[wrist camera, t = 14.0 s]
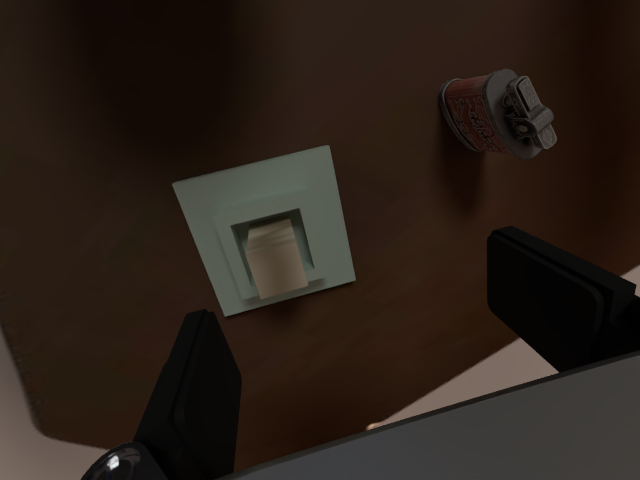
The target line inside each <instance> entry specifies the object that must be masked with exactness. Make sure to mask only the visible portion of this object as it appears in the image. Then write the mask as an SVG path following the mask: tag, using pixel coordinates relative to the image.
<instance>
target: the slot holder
mask: <svg viewBox="0 0 640 480" xmlns="http://www.w3.org/2000/svg"><path fill="white" fill-rule="evenodd" d="M172 186H173V188H174V191H175V193H176V196H177V198H178V201H179V203H180V206H181V208H182V211H183V213H184V216H185V218H186V221H187V223H188V226H189V228H190V231H191V233H192V236H193V238H194V241H195V243H196V246H197V248H198V251H199V253H200V256H201V258H202V261H203V263H204V266H205V268H206V271H207V273H208V276H209V278H210V281H211V283H212V286H213V288H214V291H215V293H216V296H217V298H218V301H219V303H220V306H221V308H222V311H223V313H224V316H229V315H232V314H236V313H240V312H243V311H247V310H250V309H254V308H258V307H261V306H265V305H268V304H272V303H276V302H279V301H283V300H286V299H290V298H294V297H297V296H301V295H304V294H308V293H312V292H315V291H319V290H322V289H326V288H330V287H333V286H337V285H341V284H344V283H348V282H351V281H355V280H356V279H355V274H354V269H353V264H352V259H351V254H350V248H349V243H348V238H347V233H346V228H345V223H344V218H343V213H342V208H341V202H340V197H339V192H338V187H337V182H336V177H335V172H334V167H333V162H332V156H331V151H330V146H328V145H325V146H321V147H317V148H312V149H308V150H304V151H300V152H296V153H292V154H288V155H284V156H280V157H275V158H271V159H267V160H263V161H259V162H255V163H251V164H247V165H242V166H238V167H234V168H230V169H226V170H222V171H218V172H214V173H210V174H205V175H201V176H197V177H193V178H189V179H185V180H181V181H177V182H174V183H173V184H172ZM285 214H289V217H290V220H291V224H292V227H293V231H294V234H295V238H296V242H297V245H298V249H299V252H300V256H301V260H302V264H303V267H304V271H305V275H306V278H307V282H308V286H306V287H303V288H299V289H296V290H292V291H289V292H285V293H282V294H278V295H275V296H271V297H268V298H264V299H261V298H260V295H259V292H258V289H257V286H256V284H255V281H254V278H253V275H252V272H251V270H250V267H249V264H248V261H247V258H246V250H247V242H248V234H249V226H250V224H252V223H256V222H259V221H263V220H267V219H270V218H274V217H278V216H282V215H285Z"/></svg>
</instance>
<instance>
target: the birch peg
mask: <svg viewBox="0 0 640 480" xmlns="http://www.w3.org/2000/svg"><path fill="white" fill-rule="evenodd" d="M246 258H247V261H248V264H249V267H250V270H251V272H252V275H253V278H254V281H255V284H256V286H257V289H258V292H259V295H260V298H261V299H264V298H268V297H271V296H275V295H278V294H282V293H285V292H289V291H292V290H296V289H299V288H303V287H306V286H308V282H307V278H306V275H305V271H304V267H303V264H302V260H301V256H300V252H299V249H298V245H297V242H296V238H295V234H294V231H293V227H292V224H291V220H290V217H289V214H285V215H282V216H278V217H274V218H270V219H267V220H263V221H259V222H256V223H252V224H250V226H249V234H248V242H247V250H246Z"/></svg>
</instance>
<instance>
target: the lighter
mask: <svg viewBox="0 0 640 480" xmlns="http://www.w3.org/2000/svg"><path fill="white" fill-rule="evenodd" d="M438 99H439V103H440V105H441V108H442V111H443V114H444V116H445V118H446V120H447V122H448V124H449V126H450V128H451V129H452V130H453V132H454V133H455V135H456V136H457V137H458V139H459V140H460V141H461V142H462V143H463V144H464V145H465V146H466V147H467V148H468V149H469V150H471V151H479V152H480V151H483V150H484V151H490V152H497V153H504V154H510V155H514V156H515V157H517V158H521V159H530V158H533V157H534V156H536V155H537V154H538V153H539V152H540V151H541V150H542V148H543V149H549V148H550V147H551V146H553V145H554V144H555V143H556V141H557V137H556V135H555V132H554V130H553V128H552V126H551V124H550V123H551V122H552V120H553V119H554V115H553V113H552V111H551V110H550V109H549V108H547V107H545V106H544V105H542V104H541V103H540V101H539V99H538V96H537V94H536V92H535V90H534V88H533V86H532V84H531V82H530V79H529V78H528V77H527V76H522V77H518V76H517V75H516V74H515V72H513V71H512V70H510V69H503V70H499V71H495V72H493V73H492V74H490V75H485V76H480V77H474V78H469V79H464V80H462V79H453V80H449V81H447V82H446V83H444V84H443V86H442V87H441V89H440V91H439V94H438Z"/></svg>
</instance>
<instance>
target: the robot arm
mask: <svg viewBox="0 0 640 480" xmlns="http://www.w3.org/2000/svg"><path fill="white" fill-rule="evenodd" d="M635 289H636V284H634V283H632V282H630V281H627V280H625V279H623V278H621V277H619V276H617V275H615V274H613V273H611V272H608V271H606V270H604V269H602V268H600V267H598V266H596V265H594V264H592V263H589V262H587V261H585V260H583V259H581V258H579V257H577V256H575V255H573V254H570V253H568V252H566V251H564V250H562V249H560V248H558V247H556V246H554V245H551V244H549V243H547V242H545V241H543V240H541V239H539V238H537V237H534V236H532V235H530V234H528V233H526V232H524V231H522V230H520V229H518V228H515V227H513V226H508V227H504V228H501V229H497V230H494V231H492V233H491V236H489V237H488V238H487V301H488V306H489V308H490V310H491V311H492V312H493V313H494V314H495V315H496V316H497V317H498V318H499V319H500V320H502V321H503V322H504V323H505V324H506V325H507V326H508V327H509V328H510V329H512V330H513V331H514V332H515V333H516V334H517V335H518V336H519V337H521V338H522V339H523V340H524V341H525V342H526V343H527V344H528V345H530V346H531V347H532V348H533V349H534V350H535V351H536V352H537V353H538V354H539V355H541V356H542V357H543V358H544V359H545V360H546V361H547V362H548V363H550V364H551V365H552V366H553V367H554V368H555V369H556V370H557V371H558V372H559V373H557V374H554V375H550V376H547V377H544V378H540V379H537V380H534V381H530V382H527V383H523V384H520V385H517V386H513V387H510V388H506V389H503V390H499V391H496V392H493V393H489V394H486V395H483V396H479V397H476V398H473V399H470V400H466V401H463V402H459V403H456V404H453V405H450V406H446V407H443V408H440V409H436V410H433V411H430V412H426V413H423V414H420V415H416V416H413V417H410V418H406V419H403V420H400V421H397V422H394V423H390V424H387V425H383V426H380V427H377V428H374V429H370V430H367V431H364V432H361V433H357V434H354V435H351V436H347V437H344V438H341V439H338V440H334V441H331V442H328V443H325V444H321V445H318V446H315V447H312V448H308V449H305V450H302V451H299V452H295V453H292V454H289V455H286V456H283V457H280V458H277V459H274V460H271V461H268V462H265V463H262V464H259V465H255V466H252V467H249V468H246V469H243V470H240V471H237V472H234V473H233V471H234V460H235V450H236V439H237V428H238V418H239V407H240V397H241V386H242V379H241V374H240V371H239V369H238V367H237V364H236V362H235V360H234V357H233V355H232V353H231V350H230V348H229V346H228V343H227V341H226V339H225V336H224V334H223V332H222V329H221V327H220V325H219V323H218V320H217V318H216V316H215V314H214V312H208V311H207V310H206V309H202V310H198V311H195V312H191V313H188V314H186V316H185V318H184V321H183V323H182V326H181V328H180V331H179V333H178V336H177V338H176V341H175V343H174V346H173V348H172V351H171V353H170V356H169V358H168V361H167V363H165V365H164V366H163V368H162V371H161V373H160V376H159V378H158V381H157V383H156V385H155V388H154V390H153V393H152V395H151V398H150V400H149V403H148V405H147V408H146V410H145V412H144V415H143V417H142V420H141V422H140V425H139V427H138V430H137V432H136V435H135V437H134V439H133V441H132V442H127V443H123V444H121V445H119V446H117V447H114V448H112V449H111V450H110V451H108V452H107V453H105V454H104V455H102V456H101V457H100V458H99V459H98V460H97V461H96V462H95V463H94V464H92V465H91V467H90V468H89V469H88V470H87V472H86V473H85V474H84V475H83V476H82V478H81V480H640V297H638V296H636V295H634V294H635Z"/></svg>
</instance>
